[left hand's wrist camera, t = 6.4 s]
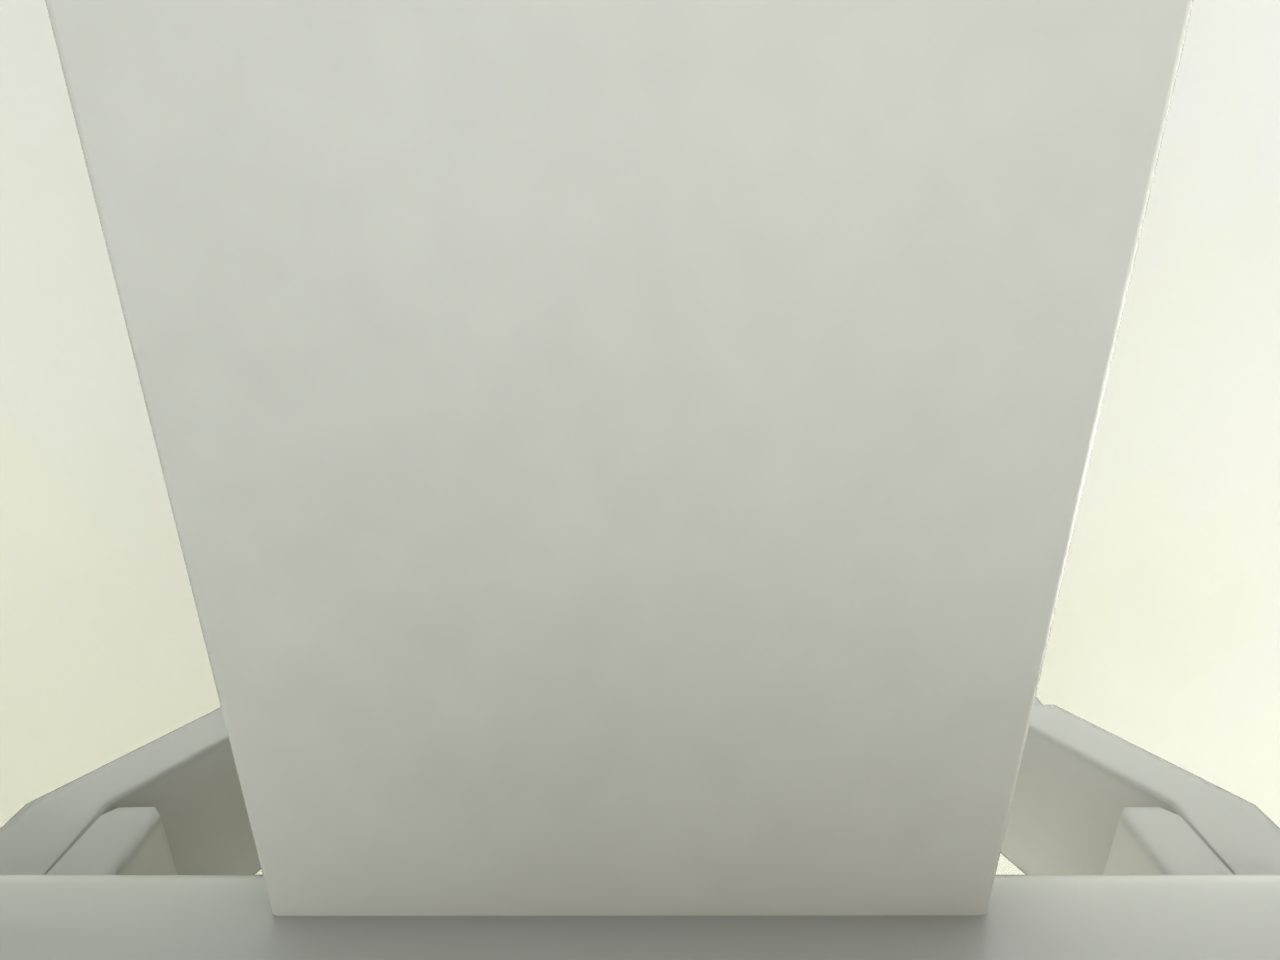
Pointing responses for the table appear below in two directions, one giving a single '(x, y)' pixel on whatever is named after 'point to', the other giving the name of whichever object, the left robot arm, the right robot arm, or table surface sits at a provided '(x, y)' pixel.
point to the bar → (624, 422)
